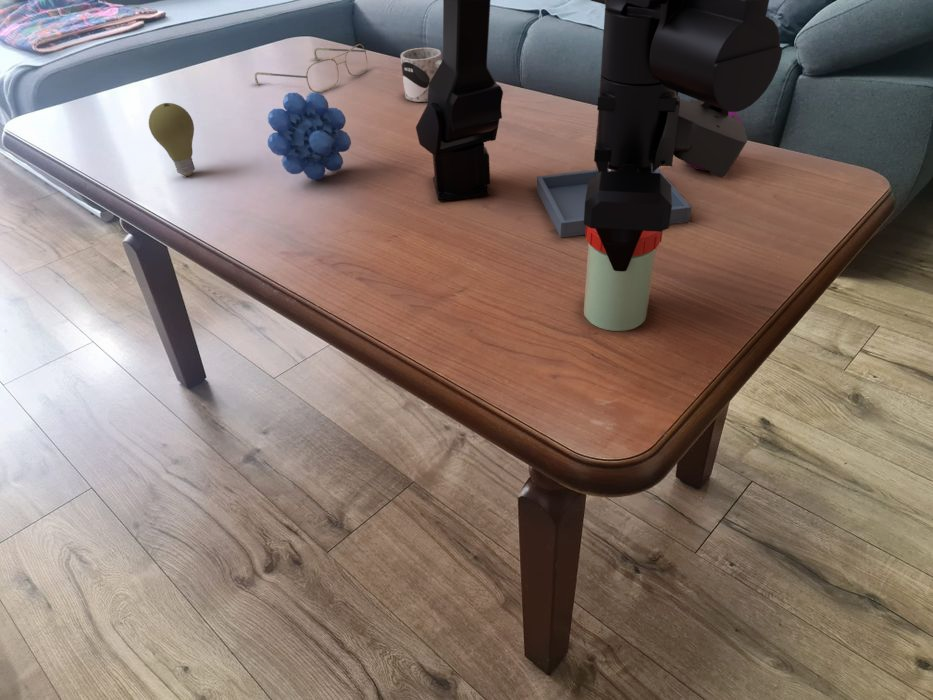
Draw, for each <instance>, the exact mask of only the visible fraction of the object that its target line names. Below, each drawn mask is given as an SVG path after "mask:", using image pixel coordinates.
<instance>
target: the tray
mask: <svg viewBox="0 0 933 700" xmlns="http://www.w3.org/2000/svg"><path fill="white" fill-rule="evenodd" d="M598 173H599V172H598V168H596V169H590V170H581V171H572V172H563V173H555V174H546V175H538V176H536V192H537V194H538V195H539V198H540V200H541V202H542V204H543V206H544V208H545V210H546V212H547V214H548V216H549V218H550V220H551V222H552V224H553V226H554V227H555V230H556V232H557V233H558V235H559V237H560V238H561V239H562V238H568V237H569V238H570V237H576V236H585V233H586V225H584V210H585V199H586V192H587V186H588V182H589V181H590V180H591V179H592V178H594V177H595V176H596V175H597V174H598ZM653 173H660V174H661V175H662V176H663V177H664V178H665V179H666V180H667V181H668V182H669V183H670V184H671V194H672V209H671V216H670V223H669V225H674V224H682V223H689V222H690V217H691V209H692V206H691V204H689V203H688V202H687V200H686V199H685V198H684V197H683V196H682V195H681V193H680V192H679V191H678V190H677V189H676V188H675V187H674V185H673V184H672V183H671V181H670V180H668V178H667V177H666V176H665V175H664V173H663V172H662V171H661V170H660V169H659V168H657V169H656V170H655V171H654V172H653Z"/></svg>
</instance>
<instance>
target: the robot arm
mask: <svg viewBox="0 0 933 700" xmlns="http://www.w3.org/2000/svg"><path fill="white" fill-rule="evenodd" d="M590 1H591V2H595V3H598V4H601V5H604V6H605V7H604V20H603V36H602V50H601V63H600V64H601V65H600V66H601V67H600V77H599V78H600V80H599V81H600V82H599V90H598V96H597V107H596V108H597V109H596V111H597V113H598V114H597V125H596V126H597V127H596V135H595V136H596V137H595V146H594V158H593V162H595V164H596V169H598V172H599V173H598V174H597V175H596V176H595V177H594V178H592V179H591V180H590V181H589V182H588V186H587V192H586V199H585V210H584V225H586V226H588V227H590V228H595V229H596V231H597V233H598V235H599V238H600V240H601V242H602V244H603V246H604V249H605V251H606V253H607V256H608V258H609V260H610V263H611V265H612V268H613V270H614V271H626V270H627V268H628V266H629V263H630V261H631V258H632V256H633V253H634V251H635V248H636V246H637V243H638V241H639V238H640V236H641V234H642V232H643V231H658V232H661V231H663V232H664V231H666V230H668V229H669V228H670V224H669V223H670V216H671V209H672V194H671V184H672V183H671V182H670V181H669V180H668V179H667V180H668V181H669V182H670V183H671V184H670V183H669V182H668V181H667V180H666V179H665V178H664V177H663V176H662V175H661V174H660V173H653V172H654V171H655V170H656V169H657V168H658V169H659V168H660V167H672V166H673V162H674V157H675V158H677V159H678V160H681V161H682V162H684V161H685V162H688V163H690V164H693V165H695V166H698V167H701V168H703V169H706V170H705V171H708V172H709V174H710V175H711V176H714V177H718V178H725V177H727V175H728V174H729V172H730V170H731V169H732V167H733V166H734V164H735V162H736V161H737V159H738V157H739V155H740V154H741V153H742V150H743V149H744V148H745V146H746V144H747V142H748V137H747V134H746V129H745V126H744V124H743V122H742V121H741V122H742V123H741V122H740V121H738V118H737V116H735V115H732V117H730V116H728V115H729V112H736V113H737V112H741V111H744V110H745V109H747V108H749V107H751V106H752V105H753V104H754V103H756V102H757V101H758V100H759V99H760V98H761V97H762V96H763V95H764V93H765V92H766V91H767V89H768V88H769V86H770V85H771V83H772V82H773V80H774V78H775V76H776V74H777V72H778V69H779V67H780V63H781V60H782V56H783V55H782V54H783V47H782V46H781V35H780V32H779V27H778V26H777V24H776V23H775V21H774V20H773V19H771V18H770V17H769V16H767V13H768V8H769V3H770V0H590ZM491 2H492V1H491V0H443V2H442V3H443V4H442V5H443V8H442V18H443V19H442V62H441V64H440V66H439V67H438V69H437V71H436V72H435V74H434V76H433V78H432V79H431V81H430V83H429V88H428V100H427V101H426V102H427V103H426V106H425V108H424V110H423V112H422V114H421V116H420V118H419V120H418V122H417V124H416V126H415V130H416V134H417V135H416V136H417V138H418V143H419V145H420V146H421V147H422V148H424V149H425V150H426V151H428V152H429V153H430V154H431V155H432V164H433V165H432V166H433V175H434V176H433V177H432V181H433V186H434V189H435V195H436V198H437V201H439V202H445V201H455V200H463V199H464V200H465V199H472V198H481V197H488V196H489V195H490V192H489V188H488V186H490V184H491V169H490V168H491V167H490V155H489V152H488V148H487V147H486V146H485V143H486V142H493V141H496V139H497V135H498V129H499V124H500V120H501V119H503V114H502V101H503V96H504V91H503V89H502V86H501V85H499V84H498V83H497V82H496V80H495V78H494V76H493V74H492V73H491V71H490V69H489V67H488V52H489V51H488V50H489V35H490V34H489V33H490V15H491ZM679 94H682V95H685V96H688V97H690V98H691V99H690V100H689V101H688V100H684V99H683V98H682V99H681V96H680V95H679ZM685 162H684V163H685Z"/></svg>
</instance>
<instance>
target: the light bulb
mask: <svg viewBox="0 0 933 700" xmlns="http://www.w3.org/2000/svg"><path fill="white" fill-rule="evenodd" d="M148 128H149V131H150V133H151V135H152V137H153V138H154V140H155V141H156V142H157V143H158V144H159V145H160V146H161V147H162V148H163V149H164V150H165V151H166V153H167V154H168V156H169V158H170V159H171V161H173V163H174V166H175V169H176V172H177V174H180V175H182V176H184V177H189V176H191V175H192V174H193V172H194V171H195V170H196V167H195V164H194V161H193V158H192V156H193V153H194V152H193V140H194V134H195V124H194V121H193V117H192V116H191V115H190V113H189V112H188V110H187V109H185V108H184V107H182V106H181V105H179V104H176V103H173V102H163V103H161V104H159V105H156V106H155V107H154V108H153V109H152V110H151V112H150V114H149V118H148Z"/></svg>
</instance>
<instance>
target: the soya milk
mask: <svg viewBox="0 0 933 700" xmlns="http://www.w3.org/2000/svg"><path fill="white" fill-rule="evenodd" d="M442 60H443V58H442V51H441V50H440V49H438V48H435V47H434V48H433V47H416V48H410V49H407V50H405V51H403V52H401V53H400V64H401V71H402V81H403V90H404V98H405V99H406V100H408V101H411V102H416V103H419V102H420V103H422V102H423V103H425V102H427V100H428V88H429V83H430V81H431V79H432V78H433V76H434V74H435V72H436V71H437V69H438V67H439V66H440V64H441V62H442Z"/></svg>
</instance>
